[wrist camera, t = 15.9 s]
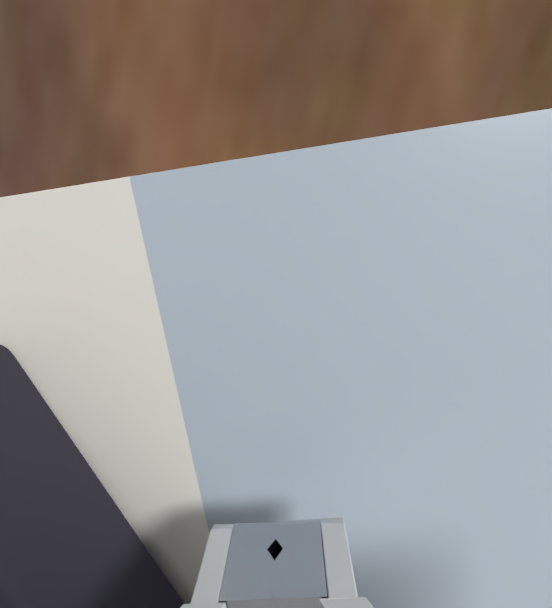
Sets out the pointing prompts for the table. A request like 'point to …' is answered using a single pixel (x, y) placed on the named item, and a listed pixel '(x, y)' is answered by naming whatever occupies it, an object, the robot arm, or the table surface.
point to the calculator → (62, 517)
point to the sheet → (312, 351)
